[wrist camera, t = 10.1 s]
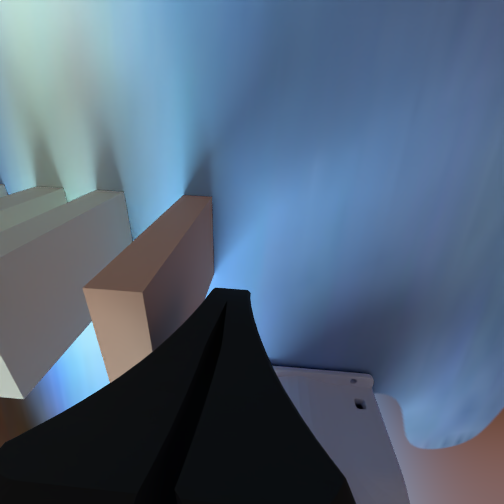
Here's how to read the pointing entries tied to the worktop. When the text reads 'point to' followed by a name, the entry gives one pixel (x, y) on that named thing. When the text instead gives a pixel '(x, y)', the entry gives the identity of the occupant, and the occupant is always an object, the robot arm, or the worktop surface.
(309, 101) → the worktop surface
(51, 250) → the domino
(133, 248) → the domino
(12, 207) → the domino
